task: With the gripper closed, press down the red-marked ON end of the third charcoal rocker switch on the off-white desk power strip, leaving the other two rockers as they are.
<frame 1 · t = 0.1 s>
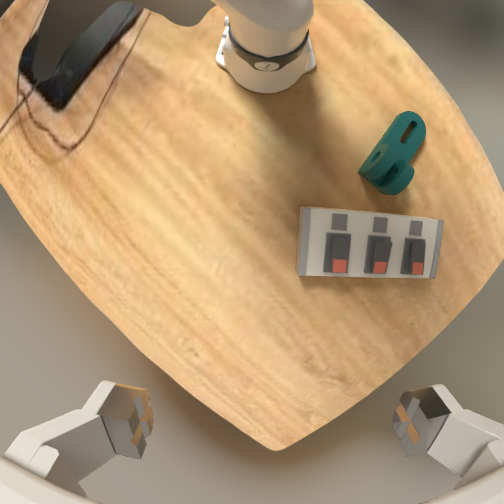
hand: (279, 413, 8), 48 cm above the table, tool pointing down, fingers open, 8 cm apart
bracket: (393, 148, 52), on the table
rocker 3: (417, 258, 50), point 6 cm above the table, hinge at -9.0°
power strip: (370, 241, 55), on the table
rocker 1: (339, 255, 50), point 6 cm above the table, hinge at -9.0°
rocker 2: (381, 257, 50), point 6 cm above the table, hinge at 9.0°
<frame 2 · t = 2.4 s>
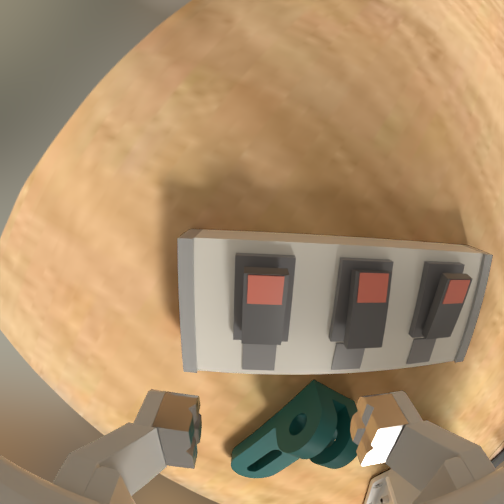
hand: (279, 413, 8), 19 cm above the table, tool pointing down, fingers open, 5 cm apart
bracket: (284, 432, 32), on the table
rocker 3: (263, 308, 21), point 6 cm above the table, hinge at -9.0°
power strip: (343, 298, 28), on the table
rocker 1: (447, 307, 21), point 6 cm above the table, hinge at -9.0°
rocker 2: (368, 309, 21), point 6 cm above the table, hinge at 9.0°
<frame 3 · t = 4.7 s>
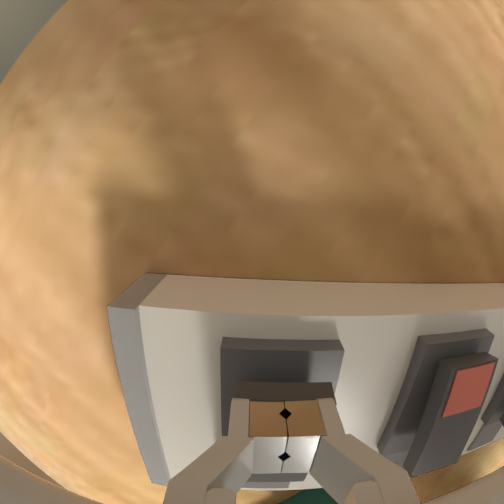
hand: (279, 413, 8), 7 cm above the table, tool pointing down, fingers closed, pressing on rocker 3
rocker 3: (277, 443, 9), point 6 cm above the table, hinge at -8.7°, touching gripper
power strip: (397, 374, 16), on the table
rocker 2: (451, 419, 9), point 6 cm above the table, hinge at 9.0°
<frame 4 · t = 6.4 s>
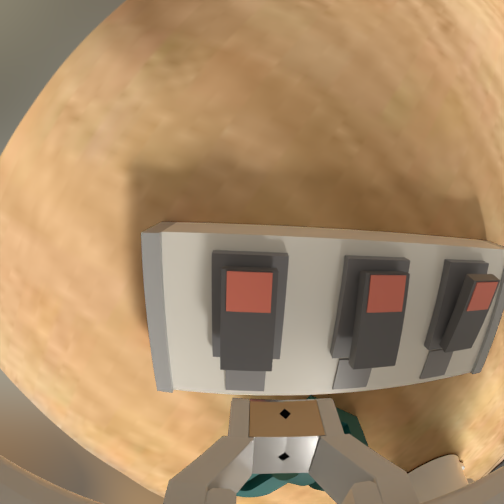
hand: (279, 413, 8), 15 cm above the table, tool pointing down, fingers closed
bracket: (278, 450, 28), on the table
rocker 3: (247, 320, 17), point 6 cm above the table, hinge at 7.6°
power strip: (347, 303, 23), on the table
rocker 1: (470, 314, 17), point 6 cm above the table, hinge at -9.0°
rocker 2: (379, 320, 17), point 6 cm above the table, hinge at 9.0°
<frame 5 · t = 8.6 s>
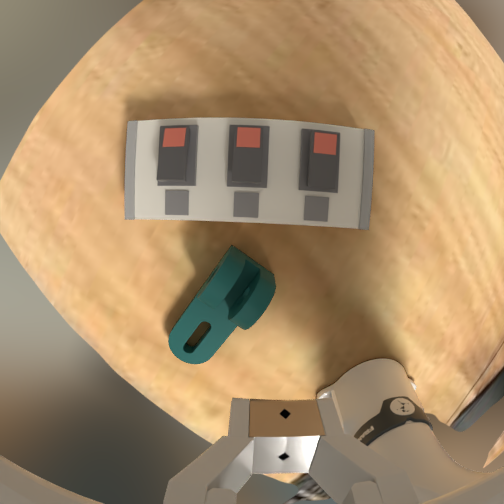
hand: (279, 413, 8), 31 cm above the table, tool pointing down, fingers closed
bracket: (215, 309, 41), on the table
rocker 3: (173, 154, 30), point 6 cm above the table, hinge at 13.7°
power strip: (248, 170, 37), on the table
rocker 1: (323, 159, 30), point 6 cm above the table, hinge at -9.0°
rocker 2: (247, 154, 30), point 6 cm above the table, hinge at 9.0°
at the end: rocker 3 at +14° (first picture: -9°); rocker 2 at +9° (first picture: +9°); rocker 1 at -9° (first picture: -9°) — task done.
